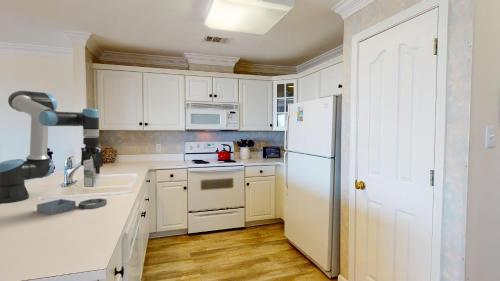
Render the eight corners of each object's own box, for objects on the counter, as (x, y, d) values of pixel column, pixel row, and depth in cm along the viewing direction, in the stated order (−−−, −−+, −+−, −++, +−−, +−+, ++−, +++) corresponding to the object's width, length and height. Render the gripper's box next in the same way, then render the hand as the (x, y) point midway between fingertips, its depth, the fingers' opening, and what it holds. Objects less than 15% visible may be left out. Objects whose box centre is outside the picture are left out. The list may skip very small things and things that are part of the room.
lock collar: (74, 207, 146) (73, 203, 145) (96, 201, 157) (95, 197, 157) (90, 210, 140) (89, 206, 140) (111, 203, 152) (111, 200, 152)
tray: (37, 211, 138) (36, 204, 138) (61, 205, 149) (61, 198, 149) (51, 214, 133) (51, 207, 133) (75, 207, 144) (75, 201, 144)
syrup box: (100, 185, 151) (100, 159, 150) (93, 187, 145) (92, 160, 144) (91, 184, 152) (90, 159, 151) (83, 187, 146) (82, 160, 145)
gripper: (72, 136, 147) (73, 178, 149) (97, 138, 139) (98, 182, 141) (85, 136, 154) (86, 176, 156) (110, 137, 146) (110, 179, 148)
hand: (92, 178), depth 148 cm, fingers closed on syrup box, 7 cm apart
